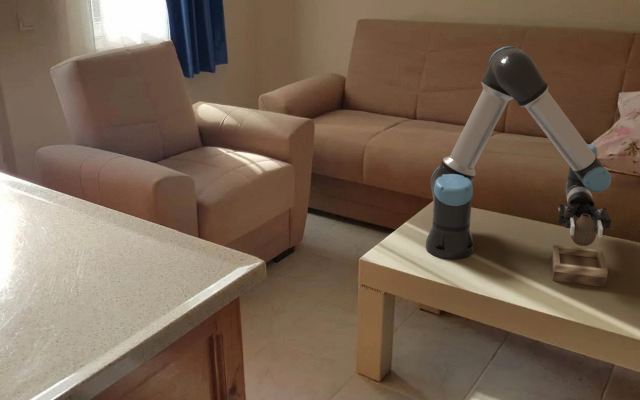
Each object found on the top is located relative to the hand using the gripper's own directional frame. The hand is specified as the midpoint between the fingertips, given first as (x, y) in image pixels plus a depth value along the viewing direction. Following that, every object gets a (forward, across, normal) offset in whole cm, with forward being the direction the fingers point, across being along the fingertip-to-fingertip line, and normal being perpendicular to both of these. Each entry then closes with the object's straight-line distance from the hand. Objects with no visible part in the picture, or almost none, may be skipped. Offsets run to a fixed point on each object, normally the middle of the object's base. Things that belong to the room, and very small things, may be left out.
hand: (586, 232), depth 173 cm
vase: (-6, 0, -6) cm, 8 cm away
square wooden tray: (-6, 0, -16) cm, 17 cm away
